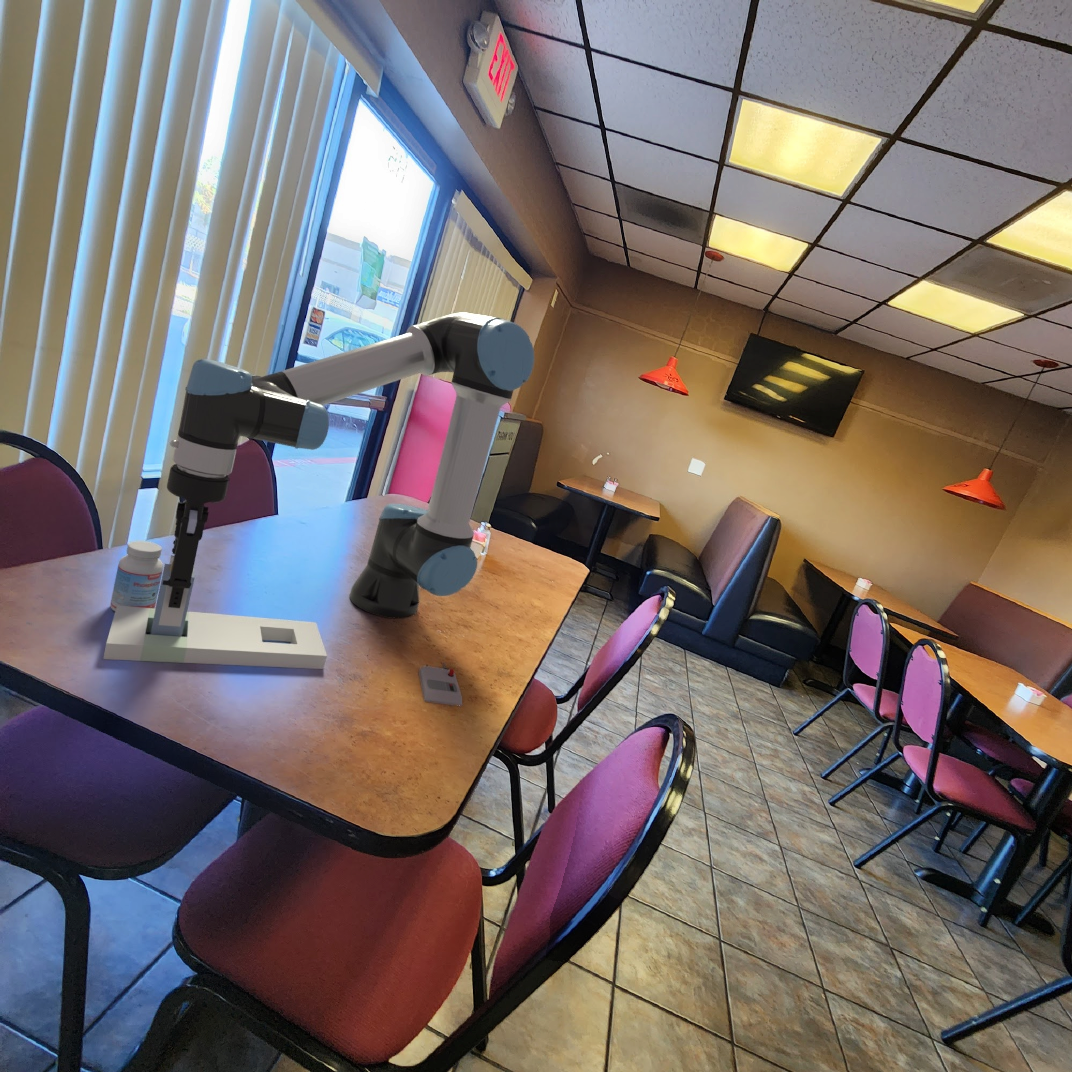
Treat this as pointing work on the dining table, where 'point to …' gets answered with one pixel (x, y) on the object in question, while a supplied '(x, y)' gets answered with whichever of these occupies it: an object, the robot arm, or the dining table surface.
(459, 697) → the remote control
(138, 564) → the pill bottle
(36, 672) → the dining table surface
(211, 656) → the panel
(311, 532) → the dining table surface
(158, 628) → the plug
